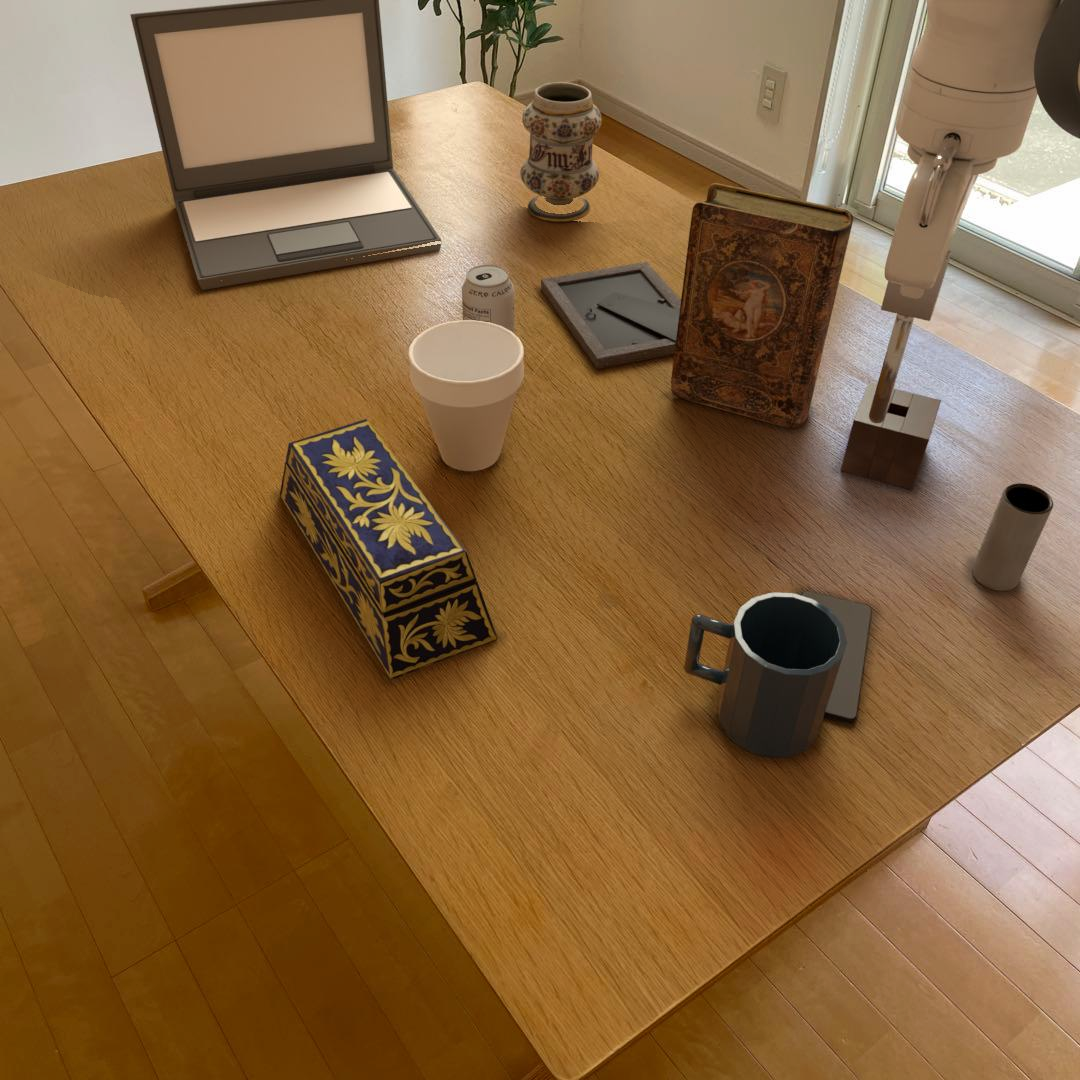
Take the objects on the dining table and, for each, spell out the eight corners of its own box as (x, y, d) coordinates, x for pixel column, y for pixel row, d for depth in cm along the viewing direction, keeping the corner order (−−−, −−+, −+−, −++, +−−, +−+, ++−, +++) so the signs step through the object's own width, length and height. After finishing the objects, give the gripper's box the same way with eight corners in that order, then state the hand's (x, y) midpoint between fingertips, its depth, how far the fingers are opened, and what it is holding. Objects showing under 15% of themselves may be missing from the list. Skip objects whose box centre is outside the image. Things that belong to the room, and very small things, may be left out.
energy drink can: (523, 389, 129) (523, 279, 119) (480, 404, 127) (477, 293, 116) (499, 366, 133) (497, 257, 123) (457, 379, 130) (451, 270, 120)
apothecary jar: (612, 208, 166) (620, 91, 153) (561, 233, 159) (564, 113, 147) (556, 185, 172) (559, 70, 159) (504, 208, 165) (503, 91, 153)
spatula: (899, 423, 94) (952, 250, 82) (896, 432, 93) (949, 258, 81) (854, 411, 95) (900, 239, 84) (851, 420, 94) (897, 247, 83)
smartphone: (873, 605, 102) (856, 721, 92) (870, 611, 103) (854, 727, 92) (802, 588, 104) (777, 700, 93) (800, 594, 105) (775, 706, 94)
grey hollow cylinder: (975, 554, 108) (1006, 477, 101) (1021, 568, 107) (1056, 491, 100) (968, 582, 105) (999, 504, 98) (1015, 597, 104) (1050, 519, 97)
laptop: (200, 290, 145) (151, 79, 126) (175, 207, 164) (129, 12, 145) (441, 249, 155) (430, 48, 136) (392, 175, 174) (376, -12, 154)
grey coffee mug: (830, 696, 95) (857, 612, 87) (805, 772, 89) (832, 689, 81) (696, 651, 98) (711, 566, 91) (664, 721, 92) (677, 637, 85)
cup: (420, 491, 115) (411, 387, 105) (412, 424, 123) (403, 323, 114) (531, 481, 116) (532, 378, 107) (516, 416, 125) (515, 315, 116)
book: (812, 407, 127) (858, 212, 110) (800, 432, 123) (845, 233, 106) (684, 373, 132) (708, 181, 115) (669, 395, 128) (692, 201, 111)
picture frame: (711, 347, 137) (646, 271, 151) (713, 333, 135) (647, 258, 150) (596, 369, 132) (541, 289, 147) (597, 355, 131) (541, 276, 146)
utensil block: (924, 449, 121) (941, 399, 116) (912, 490, 116) (929, 439, 111) (855, 431, 124) (869, 382, 119) (840, 470, 118) (853, 420, 113)
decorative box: (371, 464, 118) (362, 398, 112) (497, 639, 99) (496, 571, 93) (278, 494, 114) (265, 427, 108) (392, 682, 95) (383, 614, 89)
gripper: (988, 176, 67) (931, 359, 77) (1026, 74, 81) (974, 241, 90) (889, 157, 69) (846, 338, 79) (942, 61, 83) (900, 225, 92)
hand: (914, 285), depth 85 cm, fingers closed on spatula, 1 cm apart
